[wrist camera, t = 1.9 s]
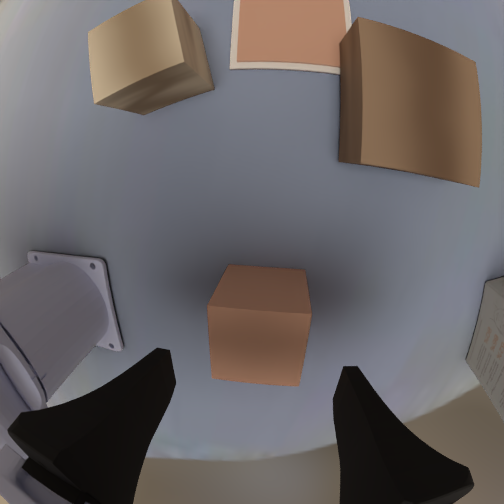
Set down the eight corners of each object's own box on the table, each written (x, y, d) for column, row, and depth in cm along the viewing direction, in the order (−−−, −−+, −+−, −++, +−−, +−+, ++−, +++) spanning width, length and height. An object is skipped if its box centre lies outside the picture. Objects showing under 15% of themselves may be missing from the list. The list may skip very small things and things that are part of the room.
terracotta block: (229, 326, 18) (212, 378, 13) (228, 263, 16) (207, 305, 12) (297, 332, 17) (298, 386, 13) (305, 269, 16) (312, 314, 11)
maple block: (144, 115, 14) (94, 104, 9) (134, 56, 13) (88, 32, 8) (214, 89, 13) (184, 61, 8) (199, 29, 12) (169, -11, 7)
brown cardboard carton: (338, 161, 13) (360, 163, 10) (339, 43, 11) (357, 16, 8) (443, 179, 13) (479, 187, 10) (442, 73, 11) (475, 62, 7)
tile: (230, 69, 13) (229, 67, 12) (236, -16, 10) (235, -19, 10) (354, 77, 12) (355, 75, 12) (346, -10, 10) (347, -13, 9)
